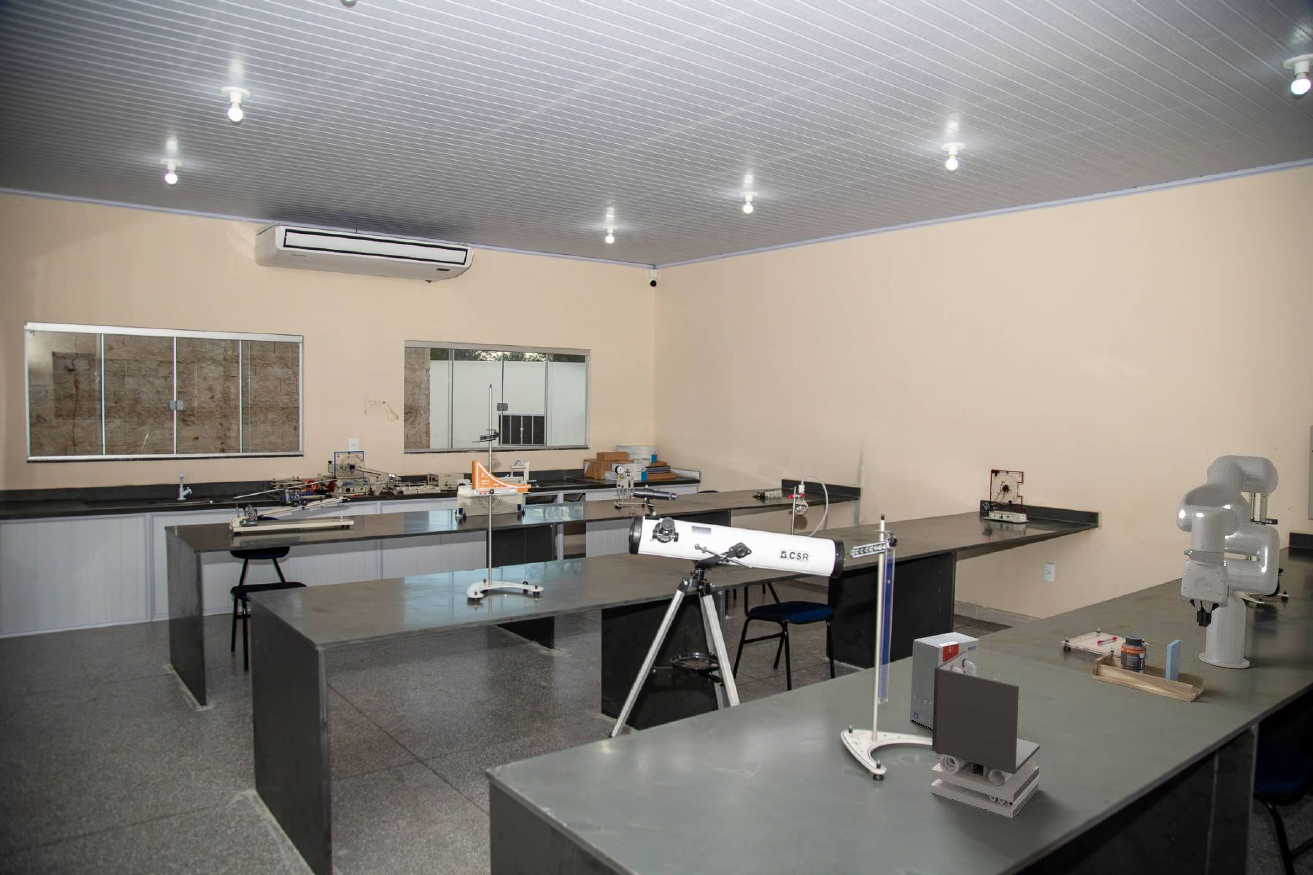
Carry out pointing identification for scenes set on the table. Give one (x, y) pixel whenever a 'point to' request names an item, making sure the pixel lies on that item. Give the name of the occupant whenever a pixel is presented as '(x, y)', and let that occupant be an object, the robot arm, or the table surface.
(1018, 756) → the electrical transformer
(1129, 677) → the lane tray
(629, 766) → the table surface
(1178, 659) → the pusher plate
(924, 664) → the hard drive box
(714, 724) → the table surface
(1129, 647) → the supplement bottle
